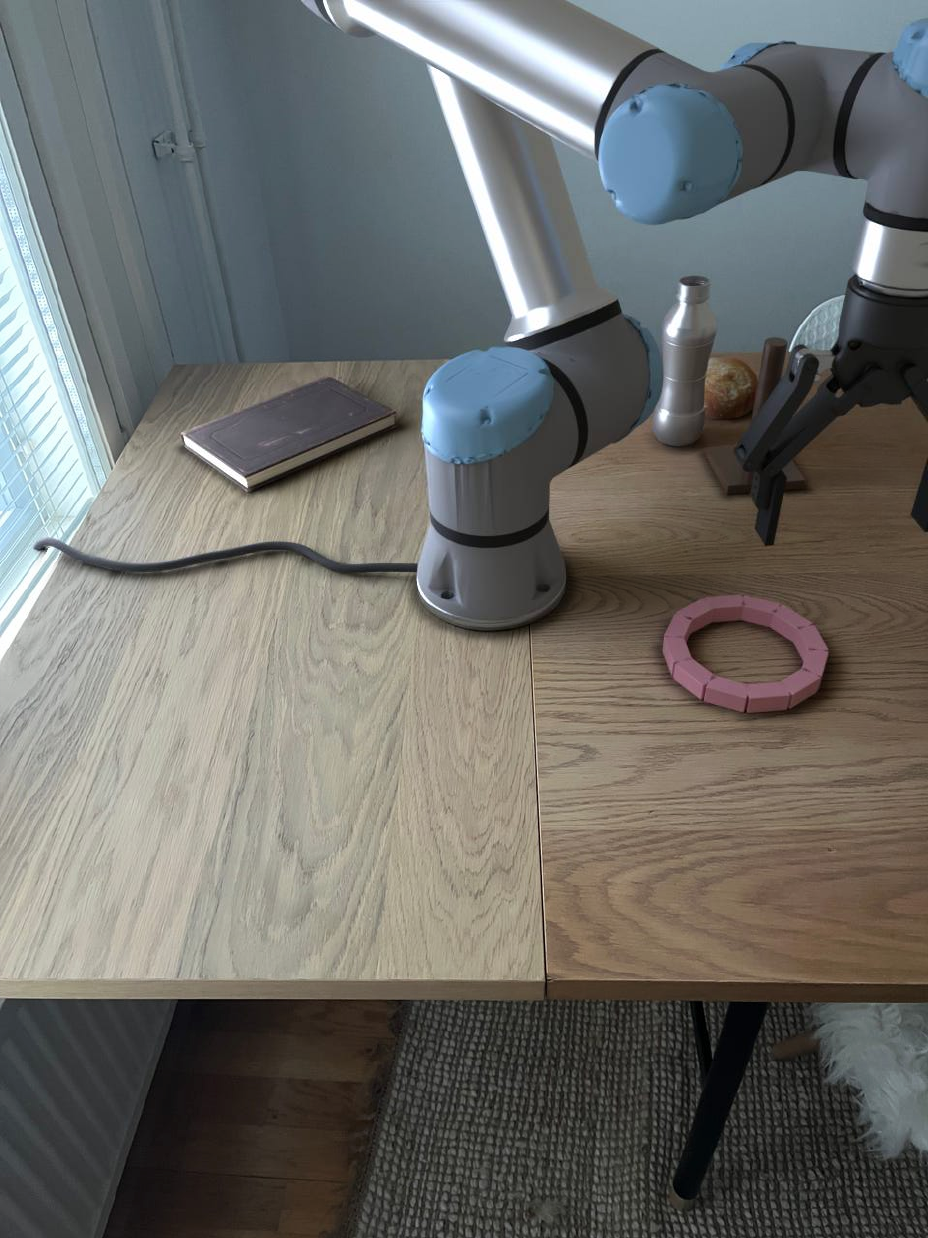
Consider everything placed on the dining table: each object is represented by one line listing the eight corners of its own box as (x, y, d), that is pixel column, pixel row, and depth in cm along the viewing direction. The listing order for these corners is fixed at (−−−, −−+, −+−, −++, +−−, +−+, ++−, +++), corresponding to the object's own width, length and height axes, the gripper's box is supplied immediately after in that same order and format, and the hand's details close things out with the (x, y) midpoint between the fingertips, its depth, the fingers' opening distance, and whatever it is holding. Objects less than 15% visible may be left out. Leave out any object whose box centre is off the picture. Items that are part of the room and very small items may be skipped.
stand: (726, 494, 109) (747, 362, 99) (705, 455, 116) (723, 327, 106) (803, 489, 109) (832, 356, 99) (778, 450, 116) (802, 322, 106)
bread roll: (674, 416, 131) (658, 373, 126) (733, 372, 131) (719, 327, 126) (718, 447, 124) (702, 403, 119) (780, 401, 124) (768, 354, 119)
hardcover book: (397, 426, 125) (396, 410, 124) (247, 492, 114) (244, 476, 112) (328, 388, 135) (326, 373, 133) (183, 446, 123) (179, 430, 122)
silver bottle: (642, 446, 118) (657, 287, 106) (660, 422, 123) (676, 267, 110) (693, 456, 116) (714, 295, 103) (709, 432, 120) (731, 274, 108)
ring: (686, 718, 82) (688, 703, 81) (649, 615, 93) (651, 601, 92) (847, 705, 82) (851, 690, 81) (791, 604, 93) (795, 589, 92)
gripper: (748, 312, 63) (710, 568, 77) (1110, 283, 64) (1010, 542, 78) (715, 273, 69) (685, 518, 82) (1048, 247, 70) (965, 494, 83)
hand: (843, 530), depth 80 cm, fingers open, 13 cm apart
